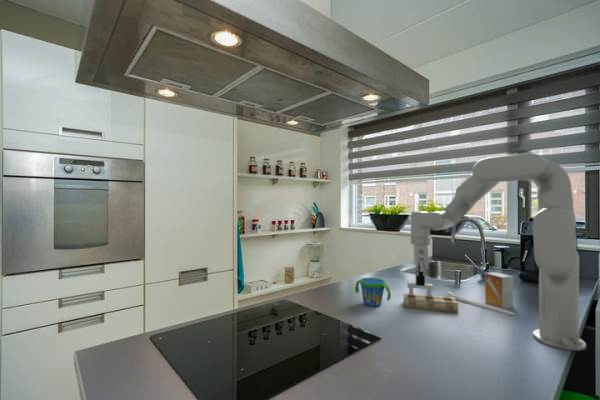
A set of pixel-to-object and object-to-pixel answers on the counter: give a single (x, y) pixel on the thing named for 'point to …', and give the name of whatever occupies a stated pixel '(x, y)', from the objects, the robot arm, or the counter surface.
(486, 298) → the small box
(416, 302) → the rail
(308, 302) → the counter surface
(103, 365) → the counter surface
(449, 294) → the spatula
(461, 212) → the robot arm
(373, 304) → the snack cup
